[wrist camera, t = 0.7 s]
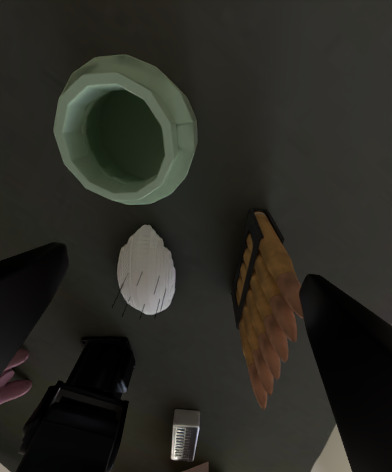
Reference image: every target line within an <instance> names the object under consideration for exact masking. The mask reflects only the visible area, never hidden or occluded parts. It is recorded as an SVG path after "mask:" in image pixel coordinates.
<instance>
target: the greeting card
mask: <svg viewBox="0 0 392 472" xmlns="http://www.w3.org/2000/svg"><path fill="white" fill-rule="evenodd" d="M182 472H209V462H206V463H203V464H201V465H198V466H195V467H193V468H190V469H188V470H185V471H182Z"/></svg>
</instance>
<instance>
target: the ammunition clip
mask: <svg viewBox="0 0 392 472" xmlns="http://www.w3.org/2000/svg"><path fill="white" fill-rule="evenodd" d="M283 242H284V238H283V236H282V234H281V232H280V230H279V229H278V227H277V225H276V223H275V222H274V220H273V218H272V216H271V214H270V213H269V211H267V210H256V209H250V210H249V212H248V217H247V222H246V226H245V231H244V236H243V241H242V245H241V250H240V255H239V260H238V264H237V269H236V274H235V279H234V283H233V288H232V293H231V294H232V301H233V307H234V314H235V320H236V327H237V329H239V330H240V336H241V342H242V349H243V353H244V355H245V358H246V362H247V367H248V370H249V376H250V380H251V384H252V388H253V391H254V394H255V396H256V399H257V401H258V403H259V405H260V407H261V408H262V409H263V410H265V408H266V404H267V394H268V395H269V396H271V395H272V392H273V377H274V378H275V379H276V380H278V379H279V377H280V358H281V360H282V361H283V362H287V359H288V343H287V337H288V338H289V339H290V340H291V341H292V342H296V340H297V326H296V320H295V316H294V312H295V313H296V314H297V315H298V316H299V317H301V318H302V319H304V317H303V312H302V307H301V303H300V298H299V291H300V288H301V285H300V283H299V281H298V279H297V276H296V274H295V271H294V269H293V265H292V261H291V259H290V257H289V255H288V254H287V252H286V250H285V248H284V247H283ZM293 311H294V312H293ZM286 336H287V337H286Z"/></svg>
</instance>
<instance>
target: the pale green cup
mask: <svg viewBox="0 0 392 472" xmlns="http://www.w3.org/2000/svg"><path fill="white" fill-rule="evenodd" d="M53 132H54V135H55V138H56V141H57V144H58V147H59V151H60V154H61V157H62V160H63V163H64V164H65V165H66V167H67V168H68V169H69V170H70V171H71V172H72V173H73V175H74V176H75V177H76V178H77V179H78V180H79V181H80V182H81V184H82V185H83V186H84V187H85V188H86V189H88V190H91V191H93V192H95V193H97V194H99V195H101V196H103V197H105V198H108V199H110V200H113V201H117V202H120V203H123V204H126V205H136V204H151V203H153V202H156V201H158V200H160V199H162V198H164V197H166V196H168V195H170V194H172V192H173V191H174V190H175V189H176V188H177V187H178V186H179V184H180V183H181V182H182V181H183V180H184V179H185V178H186V176H187V174H188V171H189V168H190V165H191V162H192V159H193V156H194V153H195V150H196V147H197V144H198V130H197V120H196V117H195V114H194V112H193V109H192V107H191V105H190V103H189V100H188V98H187V96H186V95H185V94H184V93H183V92H182V91H181V90H180V89H179V88H178V87H177V86H176V85H175V84H174V83H173V82H172V81H171V80H170V79H169V78H168V77H167V76H166V75H165V74H164V73H162V72H161V71H160V70H159V69H158V68H157V67H156V66H153V65H151V64H149V63H146V62H144V61H141V60H139V59H136V58H134V57H132V56H129V55H125V54H123V55H111V56H99V57H95V58H93V59H92V60H90V61H89V62H87V63H86V64H85V65H83V66H82V67H80V68H79V69H78V70H76V71H75V72H73V73H72V74H71V76H70V78H69V80H68V82H67V84H66V86H65V88H64V90H63V92H62V94H61V96H60V98H59V99H58V105H57V111H56V117H55V122H54V128H53Z"/></svg>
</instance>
